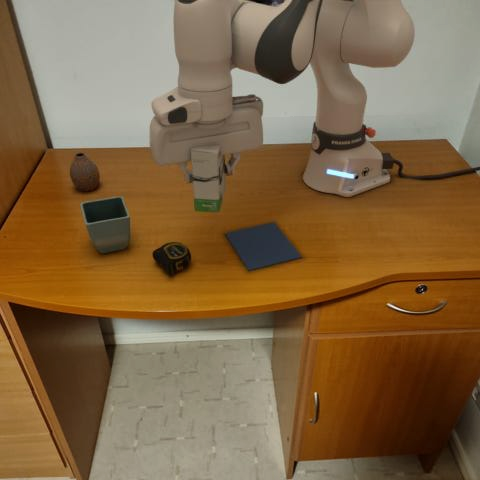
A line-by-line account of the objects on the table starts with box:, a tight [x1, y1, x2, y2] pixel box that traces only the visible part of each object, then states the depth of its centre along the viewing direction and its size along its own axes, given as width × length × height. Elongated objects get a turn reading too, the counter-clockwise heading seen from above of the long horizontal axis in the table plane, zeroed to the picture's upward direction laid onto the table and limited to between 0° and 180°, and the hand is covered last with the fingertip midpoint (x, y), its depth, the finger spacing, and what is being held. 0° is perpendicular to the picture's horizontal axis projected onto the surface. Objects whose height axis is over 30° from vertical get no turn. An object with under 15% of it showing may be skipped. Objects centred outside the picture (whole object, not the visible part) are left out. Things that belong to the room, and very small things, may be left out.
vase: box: [69, 151, 101, 192], centre depth 118 cm, size 7×7×9 cm
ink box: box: [190, 145, 226, 213], centre depth 88 cm, size 9×5×12 cm, turn 173°
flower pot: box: [79, 195, 131, 254], centre depth 101 cm, size 9×9×9 cm
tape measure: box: [152, 241, 192, 276], centre depth 98 cm, size 7×7×4 cm
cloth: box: [224, 221, 303, 272], centre depth 104 cm, size 12×14×1 cm
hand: (209, 177), depth 89 cm, fingers closed on ink box, 6 cm apart
